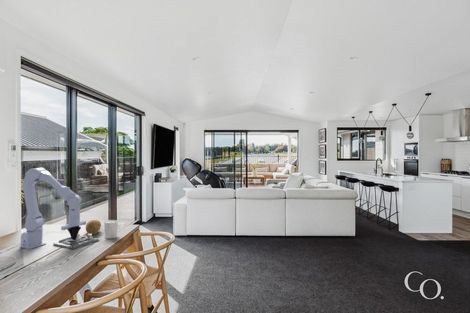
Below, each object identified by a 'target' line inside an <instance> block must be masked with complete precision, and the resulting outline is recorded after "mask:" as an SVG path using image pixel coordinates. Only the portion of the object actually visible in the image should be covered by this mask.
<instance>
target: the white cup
mask: <svg viewBox="0 0 470 313" xmlns="http://www.w3.org/2000/svg"><path fill="white" fill-rule="evenodd" d="M118 227H119V221H118V220H117V219H109V220H105V221H104V237H105V239H115V238H117V237H116V236H118V235H117V234H118ZM114 237H115V238H114Z"/></svg>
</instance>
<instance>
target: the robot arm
mask: <svg viewBox="0 0 470 313" xmlns="http://www.w3.org/2000/svg"><path fill="white" fill-rule="evenodd" d="M39 181H41V182H42V181H43V182H47V183H48V184H49V185H50V186H52V187H53V188H54V189H55V190H57V195H59V196H60V197H61V198H63V199H64V200H65V201H67V202H66V203H67V205H68V221H67V224H65V225H61V226H60V228H61V229H60V231H66V230H67V231H68V232H69V235H70V237H71V239H72V240H76V237H77V234H79V232H80V230H81V228H82V227H81V226H86V225H87V221H86V220H82V221H81V203H82V200H83V199H82V197H81V195H79V194H77V193H76V192H74V191H73V190H72V189H71V187H70V186H66V185H62V184H61V183H60V182H59V181H58V180H57V179H56V178H55V177H54V176H53V175H52V173H50V172H49V171H48V170H46V168H45V167H36V168H35V167H34V168H30V169H28V170H27V171H26V172H25V173H24V177H23V180H22V190H23V195H24V201H25V206H26V207H25V208H26V213H27V215H26V217H25V223H24V228H25V230H26V231H24V232H22V233H21V235H20V246H19V248H22V249H25V250H26V249H27V250H30V249H34V248H38V247H41V246H43V245H46V244H47V243H46V242H43V231H44V230H43V229H44V228H43V226H44V224H45V218H44V217H43V215H42V212H40V209H39V204H38V198H37V197H38V196H37V192H36V184H37V183H38V182H39Z"/></svg>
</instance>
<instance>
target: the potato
mask: <svg viewBox="0 0 470 313" xmlns="http://www.w3.org/2000/svg"><path fill="white" fill-rule="evenodd" d="M101 227H102V223H101V222H100V220H97V219H93V220H90V221H88V222H86V224H85V231H86V233H87V234H92V236H94V235H96V234H97V233H98V232H99V231H100V230H101Z"/></svg>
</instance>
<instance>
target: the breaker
mask: <svg viewBox="0 0 470 313" xmlns="http://www.w3.org/2000/svg"><path fill="white" fill-rule="evenodd" d="M80 236H81V234H80V233H78V234H77V237H76V240H73V241H77V240H80V239H81V237H80Z"/></svg>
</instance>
